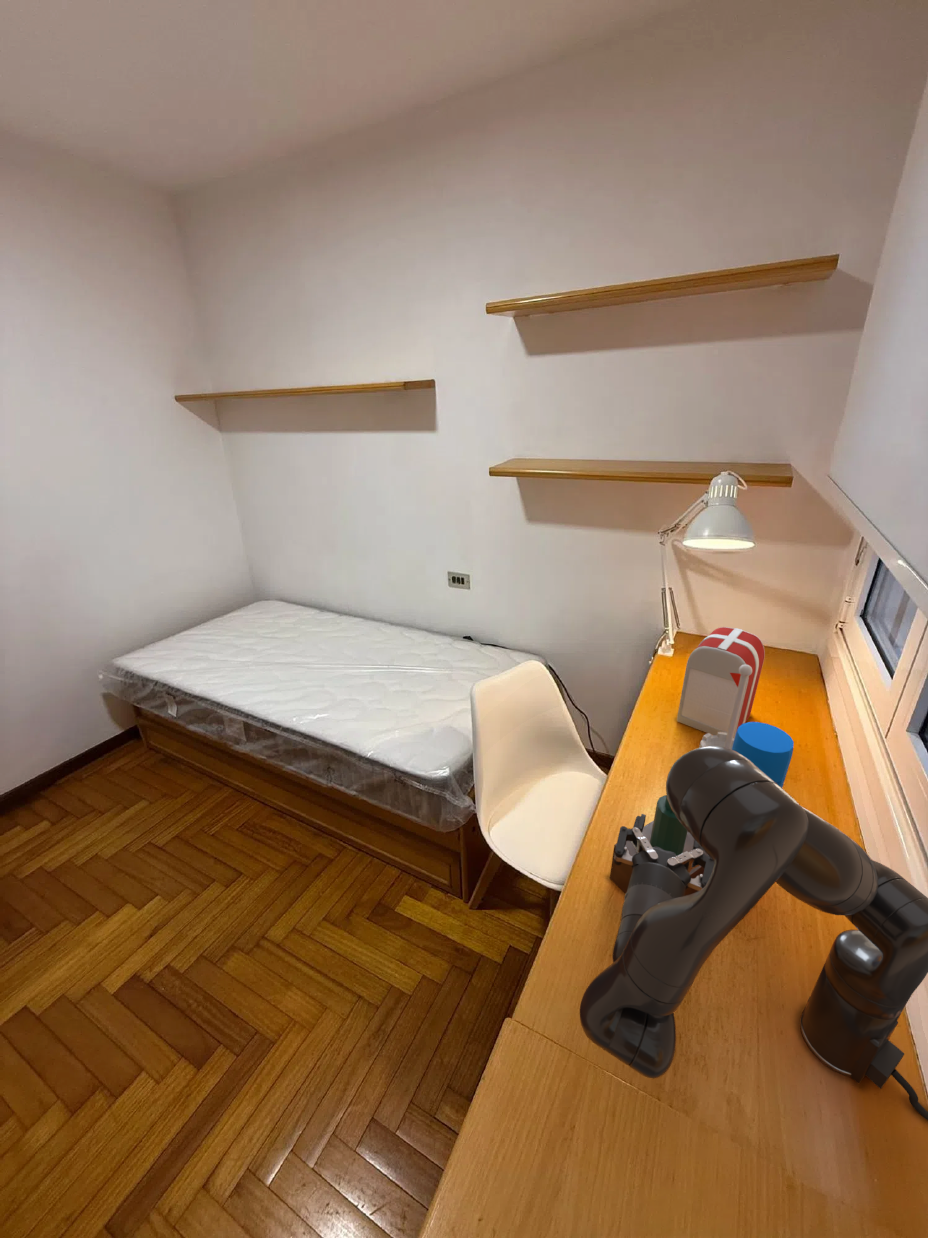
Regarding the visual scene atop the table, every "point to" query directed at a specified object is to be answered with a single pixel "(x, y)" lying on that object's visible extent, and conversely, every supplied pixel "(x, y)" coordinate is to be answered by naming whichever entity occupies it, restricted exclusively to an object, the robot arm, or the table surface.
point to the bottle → (667, 829)
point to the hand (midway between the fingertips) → (670, 826)
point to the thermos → (765, 748)
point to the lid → (647, 833)
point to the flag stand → (727, 738)
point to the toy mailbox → (720, 680)
